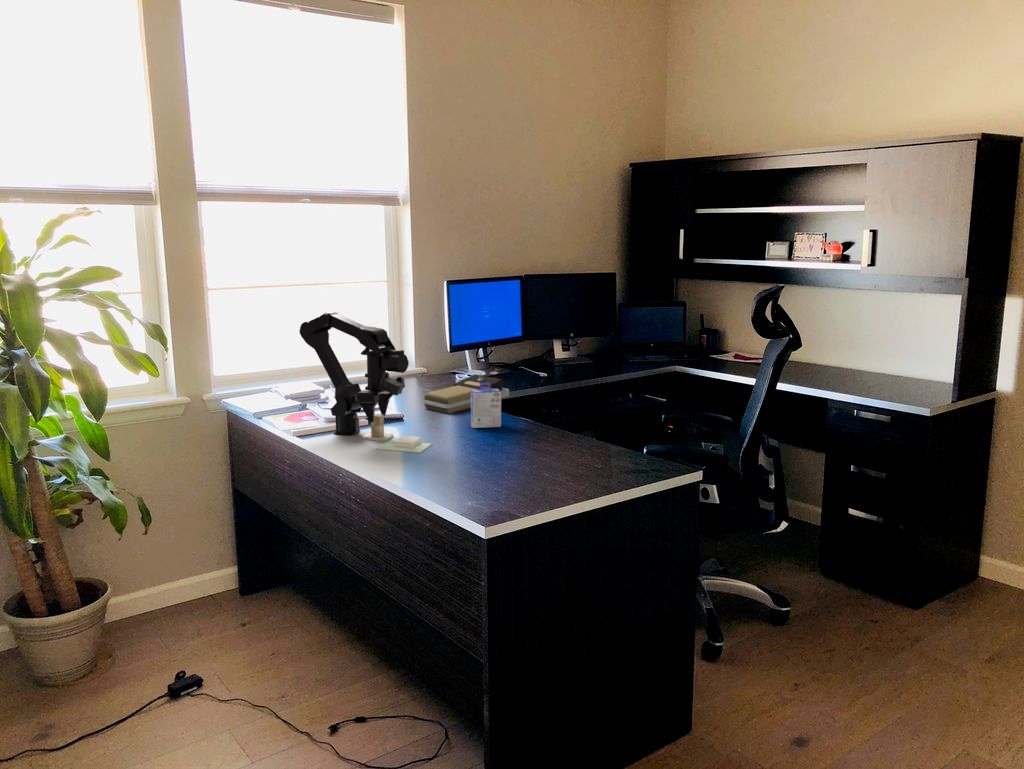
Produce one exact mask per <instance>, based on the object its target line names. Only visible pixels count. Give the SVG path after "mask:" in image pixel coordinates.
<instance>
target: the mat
mask: <svg viewBox="0 0 1024 769" xmlns="http://www.w3.org/2000/svg"><path fill="white" fill-rule="evenodd" d="M394 441H395V440H393V439H392V440H391V439H389V440H387V441H385V442H384V443H382V444H380V445H379V446H378V447H376V450H379V451H391V452H402V453H403V452H404V453H413V454H414V453H415V454H421V453H422V452H424V451H425V450H426V449H428V448H429V447H431V446H432V445H433V443H431V442H430V443H429V442H420V443H418V444H417V445H415V446H414V447H413V448H409V447H397V446H394Z"/></svg>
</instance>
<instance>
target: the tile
mask: <svg viewBox="0 0 1024 769" xmlns="http://www.w3.org/2000/svg"><path fill="white" fill-rule="evenodd" d="M421 440H422V437H421V436H409V435H401V436H400V437H398V438H396V439H395V440H394V446H397V447H409V448H413V447H414V446H415V445H417V444H418V443H422V441H421Z"/></svg>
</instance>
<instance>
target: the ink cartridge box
mask: <svg viewBox="0 0 1024 769" xmlns="http://www.w3.org/2000/svg"><path fill="white" fill-rule="evenodd" d="M482 385H489V387H482ZM470 393H471V408H470V426H471V428H472V429H480V428H501V427H502V403H501V391H500V390H499V389H491V385H490V383H480V390H470Z"/></svg>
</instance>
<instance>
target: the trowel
mask: <svg viewBox="0 0 1024 769" xmlns="http://www.w3.org/2000/svg"><path fill="white" fill-rule="evenodd" d="M384 424H385V416H384V414H381V413H374V421H373V422H370V432H367V433H366V434H364V435H363V436H361V440H365V441H375V442H376V441H377V442H387V441H389V440H391V439H392V438H393V437H394V433H387V432H386V433H385V425H384Z"/></svg>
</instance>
